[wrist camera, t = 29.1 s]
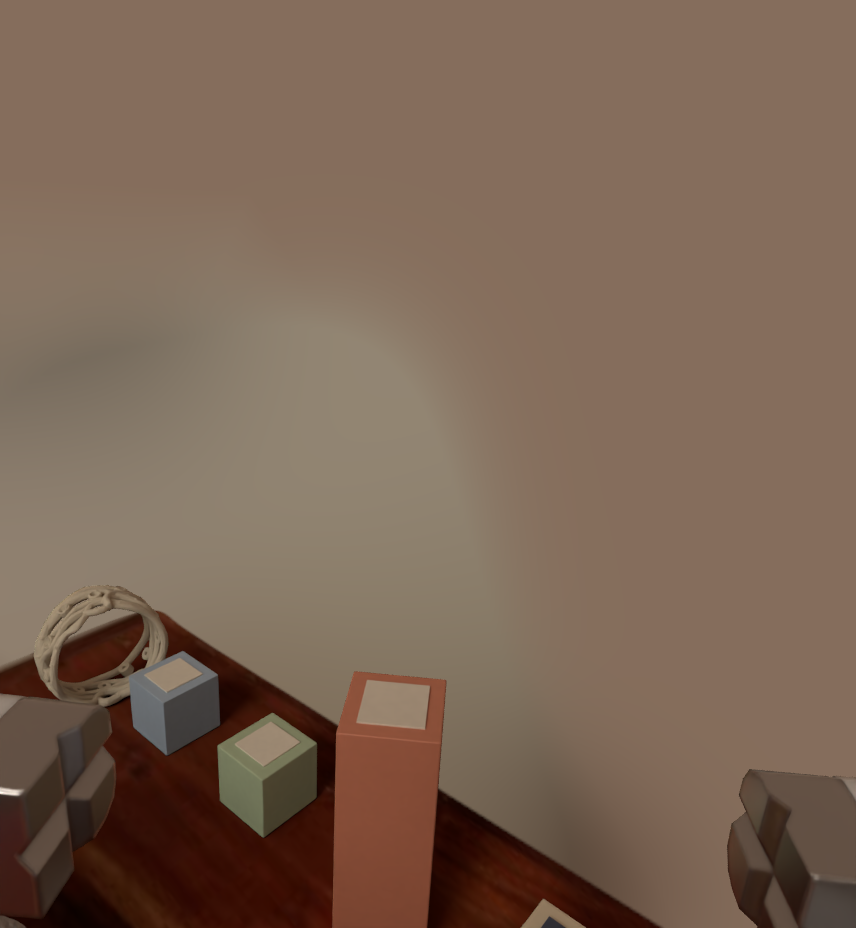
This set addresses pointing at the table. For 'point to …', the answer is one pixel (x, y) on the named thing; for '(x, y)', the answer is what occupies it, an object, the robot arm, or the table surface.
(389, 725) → the tall block
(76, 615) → the bracelet
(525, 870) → the table surface
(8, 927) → the seashell
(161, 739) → the block
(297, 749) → the block
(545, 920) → the block
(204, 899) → the table surface
